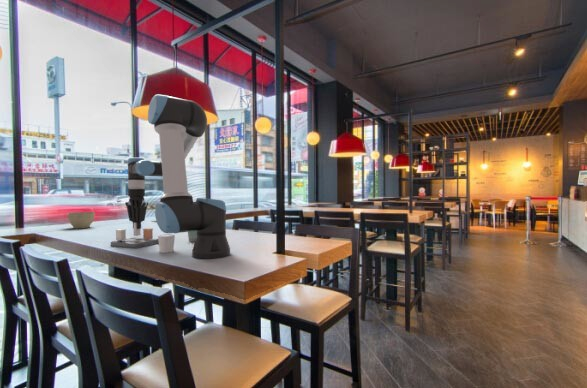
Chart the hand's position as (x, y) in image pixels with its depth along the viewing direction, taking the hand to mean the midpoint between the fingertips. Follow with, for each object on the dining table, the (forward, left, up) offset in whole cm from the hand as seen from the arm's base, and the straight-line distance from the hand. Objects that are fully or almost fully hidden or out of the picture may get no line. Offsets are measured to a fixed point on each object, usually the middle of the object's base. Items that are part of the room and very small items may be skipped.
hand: (137, 235), depth 152 cm
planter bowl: (+88, -35, -4) cm, 95 cm away
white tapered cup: (-29, +11, -4) cm, 31 cm away
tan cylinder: (-7, 0, -1) cm, 7 cm away
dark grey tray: (-3, +3, -4) cm, 6 cm away
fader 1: (+3, +7, -1) cm, 8 cm away
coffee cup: (-24, -15, -4) cm, 28 cm away
